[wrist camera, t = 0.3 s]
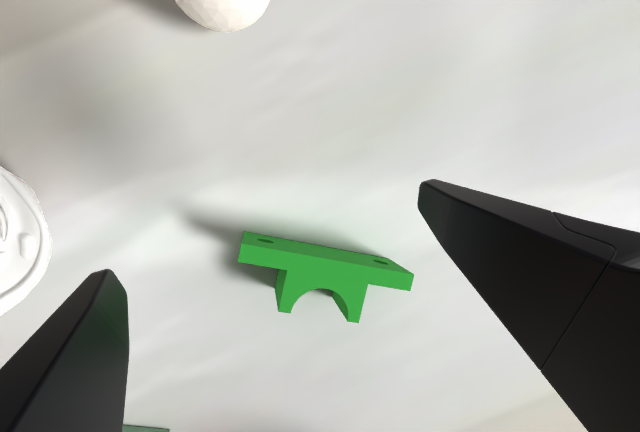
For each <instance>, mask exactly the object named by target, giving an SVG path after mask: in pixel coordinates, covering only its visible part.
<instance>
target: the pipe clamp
mask: <svg viewBox="0 0 640 432" xmlns="http://www.w3.org/2000/svg"><path fill="white" fill-rule="evenodd" d="M238 262H241V263H247V264H253V265H259V266H265V267H271V268H277V269H279V271H278V275H277V280H276V284H275V293H276V300H277V306H278V312H285V313H291V310H292V307H293V305H294V303H295V302H296V301H297V299H298V298H299V297H300V296H302V295H303V294H304V293H306V292H308V291H310V290H314V289H320V288H322V289H329V290H332V291H333V299H334V301H335V302H336V304H337V305H338V307H339V309H340V310H341V312H342V313H343V315H344V316H345V318H346V320H347V321H349V322H356V323H359V319H360V315H361V310H362V306H363V302H364V298H365V294H366V289H367V285H368V284H371V285H377V286H383V287H389V288H395V289H401V290H407V291H410V290H411V286H412V281H413V277H414V274H412V273H411V272H409V271H408V270H406V269H404V268H403V267H401V266H399V265H398V264H396V263H395V262H393V261H391V260H390V259H387V258H382V257H377V256H371V255H366V254H361V253H356V252H350V251H345V250H340V249H334V248H329V247H324V246H318V245H313V244H308V243H302V242H297V241H292V240H287V239H281V238H276V237H271V236H265V235H260V234H255V233H249V232H244V234H243V239H242V243H241V248H240V252H239V257H238Z"/></svg>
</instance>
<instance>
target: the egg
mask: <svg viewBox="0 0 640 432" xmlns="http://www.w3.org/2000/svg"><path fill="white" fill-rule="evenodd" d="M175 2H176V3H177V5H178V6H179V7H180V8H181V9H182V10H183V11H184V12H185V13H186V14H187V15H188V16H189V17H190V18H191V19H193V20H194V21H196V22H197V23H199V24H200V25H202V26H204V27H206V28H208V29H211V30H216V31H221V32H234V31H238V30H242V29H244V28H246V27H248V26H250V25H252V24H253V23H254V22H255V21H256V20H257V19H258V18H259V17H260V16H261V15H262V14H263V12H264V11H265V9H266V7H267V6H268V4H269V2H270V0H175Z"/></svg>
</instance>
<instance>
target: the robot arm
mask: <svg viewBox="0 0 640 432" xmlns="http://www.w3.org/2000/svg"><path fill="white" fill-rule="evenodd" d="M418 209H419V211H420V213H421V214H422V216H423V218H424V219H425V221H426V222H427V224H428V226H429V227H430V229H431V230H432V232H433V234H434V235H435V237H436V238H437V240H438V242H439V243H440V245H441V246H442V247H443V249H444V250H445V251H446V253H447V254H448V255H449V257H450V258H451V259H452V260H453V262H454V263H455V264H456V265H457V267H458V268H459V269H460V270H461V272H462V273H463V274H464V275H465V277H466V278H467V279H468V280H469V282H470V283H471V284H472V286H473V287H474V288H475V289H476V291H477V292H478V293H479V294H480V296H481V297H482V298H483V299H484V301H485V302H486V303H487V304H488V306H489V307H490V308H491V309H492V311H493V312H494V313H495V315H496V316H497V317H498V318H499V320H500V321H501V322H502V323H503V325H504V326H505V327H506V328H507V330H508V331H509V332H510V333H511V335H512V336H513V337H514V338H515V340H516V341H517V342H518V343H519V345H520V346H521V347H522V349H523V350H524V351H525V352H526V354H527V355H528V356H529V357H530V359H531V360H532V361H533V362H534V364H535V365H536V366H537V367H538V369H539V370H541V373H542V374H543V375H544V377H545V378H546V379H547V380H548V382H549V383H550V384H551V385H552V387H553V388H554V389H555V390H556V392H557V393H558V394H559V395H560V397H561V398H562V399H563V400H564V402H565V403H566V404H567V405H568V407H569V408H570V409H571V410H572V412H573V413H574V414H575V416H576V417H577V418H578V419H579V421H580V422H581V423H582V424H583V426H584V427H585V428H586V429H587V431H588V432H640V232H635V231H631V230H626V229H621V228H617V227H612V226H608V225H604V224H600V223H595V222H591V221H587V220H583V219H579V218H575V217H571V216H568V215H564V214H560V213H557V212H551V211H549V210H546V209H542V208H538V207H535V206H531V205H527V204H524V203H520V202H516V201H513V200H509V199H505V198H502V197H498V196H494V195H491V194H487V193H483V192H480V191H476V190H472V189H469V188H465V187H461V186H458V185H454V184H450V183H447V182H443V181H439V180H436V179H431V180H427V181H424V182H422V183H421V184H420V187H419V196H418ZM128 362H129V325H128V302H127V294H126V291H125V289H124V287H123V286H122V284H121V283H120V281H119V280H118V278H117V277H116V275H115V274H114V272H113V271H112V270H110V269H104V270H101V271H97V272H94V273H92V274H90V275H89V276H88V277H87V278H86V279H85V280H84V281H83V282H82V284H81V285H80V286H79V287H78V288H77V289H76V290H75V291H74V292H73V293H72V294H71V295H70V296H69V297H68V298H67V299H66V300H65V301H64V302H63V304H62V305H61V306H60V307H59V308H58V309H57V310H56V311H55V312H54V313H53V314H52V315H51V316H50V317H49V318H48V319H47V320H46V321H45V323H44V324H43V325H42V326H41V327H40V328H39V329H38V330H37V331H36V332H35V333H34V334H33V335H32V336H31V337H30V338H29V339H28V340H27V342H26V343H25V344H24V345H23V346H22V347H21V348H20V349H19V350H18V351H17V352H16V353H15V354H14V355H13V356H12V357H11V358H10V359H9V360H8V362H7V363H6V364H5V365H4V366H3V367H2V368H1V369H0V432H122V429H123V418H124V407H125V396H126V384H127V373H128Z"/></svg>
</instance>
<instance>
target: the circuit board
mask: <svg viewBox="0 0 640 432" xmlns="http://www.w3.org/2000/svg"><path fill="white" fill-rule="evenodd" d="M169 431H170V430H168V429H157V428H147V427H137V426H126V425H123V429H122V432H169Z"/></svg>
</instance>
